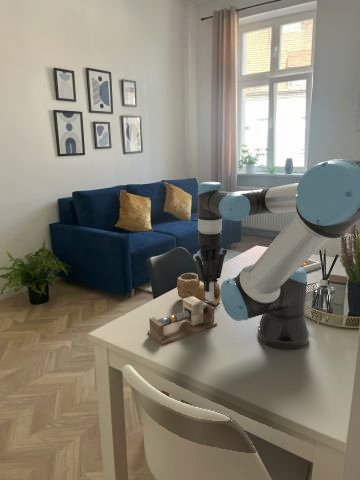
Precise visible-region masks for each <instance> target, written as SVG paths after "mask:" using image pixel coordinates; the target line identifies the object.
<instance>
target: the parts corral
mask: <svg viewBox="0 0 360 480" xmlns="http://www.w3.org/2000/svg"><path fill="white" fill-rule="evenodd" d="M305 263H306V266H304V267H302V268H303V269H305V271H306V273H308V272H312V271H314V270H318V269H320V268H321V267H322V262H321V261H317V260H314V259H311V258H309V259H308V260H307V261H306V262H305Z"/></svg>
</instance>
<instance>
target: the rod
mask: <svg viewBox="0 0 360 480" xmlns="http://www.w3.org/2000/svg"><path fill="white" fill-rule="evenodd" d="M206 312H207V307H206V305H203V313H206ZM188 318H191V311H190V310H186V311H183V310H182V311H180V312H177V313H174V314H173V315H170V316H169V315H168V316H165V317H161V318H158V319H157V320H158V321H159V322H161V323H162V324H163V325H164V326H167V325H170V324H172V323H175V322H179V321H182V320H185V319H188Z"/></svg>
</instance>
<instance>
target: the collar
mask: <svg viewBox="0 0 360 480" xmlns="http://www.w3.org/2000/svg"><path fill="white" fill-rule="evenodd" d="M203 302H204V301H201V300H199V299H197V298H195V297H193V296H191V297H187V298H184V299H182V312H183V311H186V310H190V311H191V318H188V319H185V321H187V322H188V323H190V324H191V325H193V326H194V325H197V324H200V323H203Z"/></svg>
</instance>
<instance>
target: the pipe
mask: <svg viewBox="0 0 360 480" xmlns="http://www.w3.org/2000/svg"><path fill="white" fill-rule="evenodd" d="M220 288H221V285H220V284H219V282H218V281H217V282H215V290H214V301H211V302H210V301H208V300H206V299H205V291H204V284H201V281H199V279H198V275H197V273H194V272H186V273H183V274H181V275H180V276H178V277H177V281H176V290H177V295H178V297H179V298H181V299H182V300H183V299H184V298H187V297H191V296H193V297H195V298H197V299H199V300H201V301H202V302H208V303H210V304H211V305H215V306H216V305H218V304H219V303H220V302H221V294H220Z"/></svg>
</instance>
